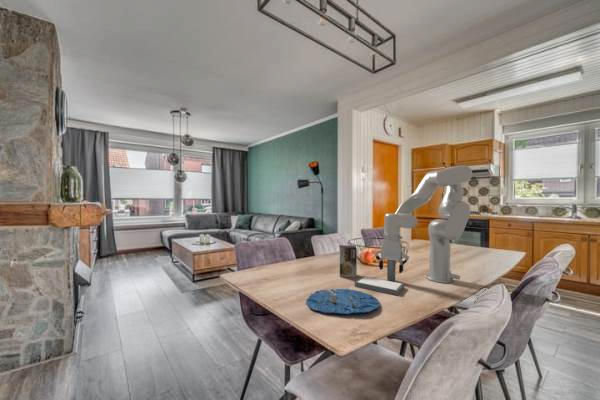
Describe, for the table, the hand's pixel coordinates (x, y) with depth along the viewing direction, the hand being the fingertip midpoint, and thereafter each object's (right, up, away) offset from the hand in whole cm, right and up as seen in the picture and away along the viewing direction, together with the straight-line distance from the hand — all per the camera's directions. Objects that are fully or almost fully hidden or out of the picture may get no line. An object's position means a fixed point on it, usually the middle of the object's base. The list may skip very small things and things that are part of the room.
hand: (390, 270), depth 133 cm
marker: (0, -5, 0) cm, 5 cm away
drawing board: (-9, -5, -10) cm, 14 cm away
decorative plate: (-30, -6, -28) cm, 41 cm away
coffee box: (-21, -5, +8) cm, 23 cm away
